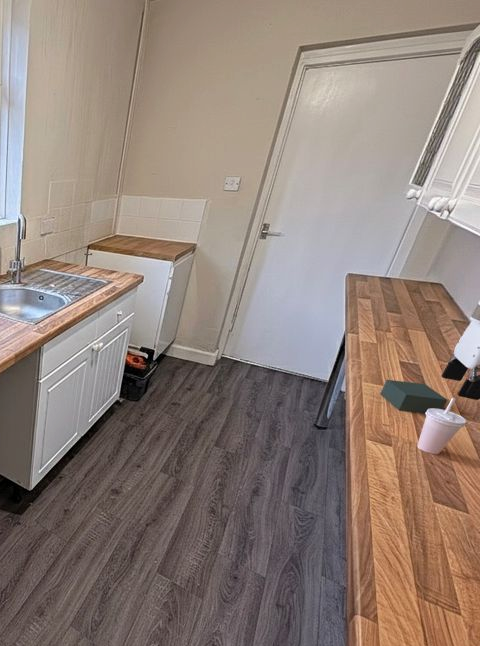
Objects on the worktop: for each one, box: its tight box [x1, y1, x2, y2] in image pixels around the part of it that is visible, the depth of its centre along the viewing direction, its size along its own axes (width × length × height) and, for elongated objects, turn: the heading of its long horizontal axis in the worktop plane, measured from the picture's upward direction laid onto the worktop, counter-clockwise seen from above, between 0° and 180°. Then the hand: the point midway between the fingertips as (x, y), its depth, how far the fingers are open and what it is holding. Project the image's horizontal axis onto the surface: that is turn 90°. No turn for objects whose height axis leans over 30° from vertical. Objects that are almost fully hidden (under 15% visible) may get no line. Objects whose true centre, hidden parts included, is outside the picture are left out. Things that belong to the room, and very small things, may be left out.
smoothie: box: [416, 397, 467, 455], centre depth 96 cm, size 6×6×14 cm
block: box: [379, 379, 448, 414], centre depth 117 cm, size 9×9×5 cm
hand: (458, 387), depth 93 cm, fingers open, 9 cm apart
